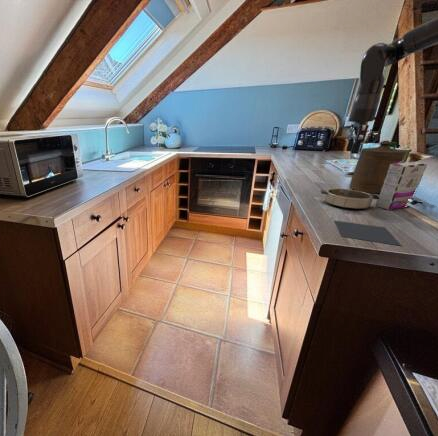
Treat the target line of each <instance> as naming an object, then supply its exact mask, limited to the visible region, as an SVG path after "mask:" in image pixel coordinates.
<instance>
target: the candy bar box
mask: <svg viewBox="0 0 438 436" xmlns="http://www.w3.org/2000/svg"><path fill="white" fill-rule="evenodd" d="M427 166H428V163H425V162H420V161H419V162H417V161H407V162H402V163H395V164H390V166H389V169H388V172H387V174H386V177H385V180H384V184H383V186H382V189H381V192H380V194H378V197H379V199H377V201H376V204H375V208H378V209H383V210H387V211H394V210H399V209H405V208H404V207H405V206H406V204H407V203H408V202H407V201H408V199H410V198H411V197H412V196H413V194H414V192H415V190H416V188H417V187H418V188H419V186H418V185H420V183H421V181H422V178H423V175H424V173H425V171H426V168H427ZM418 188H417V189H418Z"/></svg>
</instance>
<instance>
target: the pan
mask: <svg viewBox="0 0 438 436" xmlns="http://www.w3.org/2000/svg"><path fill="white" fill-rule="evenodd" d="M320 193H321V194H322V195H324V197H323V200H324V202H325V203H327V204H329V205H331V206H333V207H339V208H343V209H349V210H366V209H368V208H369V207H371V205H372V203H373V200H378V199H379V195H378V194H372V193H366V192H362V191H357V190H353V189H351V188H328V189H326V190H325V189H320Z"/></svg>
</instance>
